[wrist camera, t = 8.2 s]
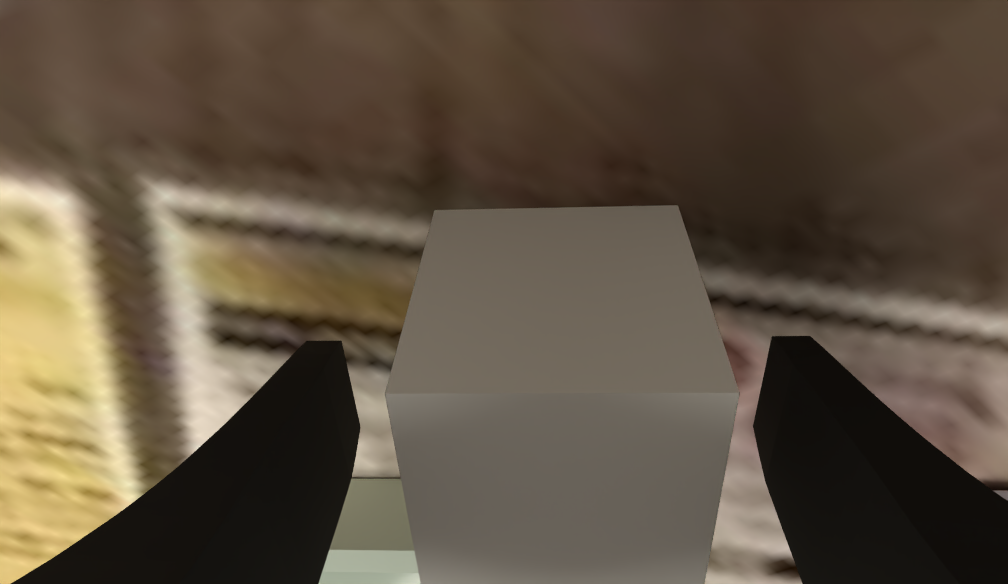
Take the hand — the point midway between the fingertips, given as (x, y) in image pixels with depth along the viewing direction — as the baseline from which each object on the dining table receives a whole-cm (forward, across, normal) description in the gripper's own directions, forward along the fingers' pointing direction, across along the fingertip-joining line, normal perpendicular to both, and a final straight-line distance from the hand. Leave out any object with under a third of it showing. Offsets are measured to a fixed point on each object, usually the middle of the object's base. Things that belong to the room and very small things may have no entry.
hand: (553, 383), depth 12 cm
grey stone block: (+2, 0, 0) cm, 2 cm away
